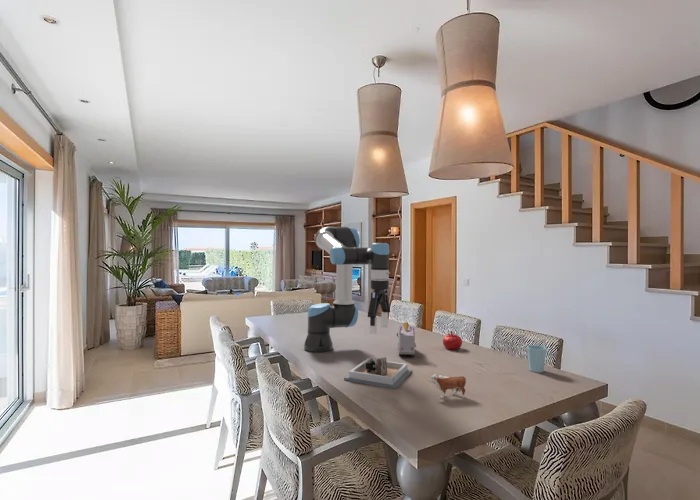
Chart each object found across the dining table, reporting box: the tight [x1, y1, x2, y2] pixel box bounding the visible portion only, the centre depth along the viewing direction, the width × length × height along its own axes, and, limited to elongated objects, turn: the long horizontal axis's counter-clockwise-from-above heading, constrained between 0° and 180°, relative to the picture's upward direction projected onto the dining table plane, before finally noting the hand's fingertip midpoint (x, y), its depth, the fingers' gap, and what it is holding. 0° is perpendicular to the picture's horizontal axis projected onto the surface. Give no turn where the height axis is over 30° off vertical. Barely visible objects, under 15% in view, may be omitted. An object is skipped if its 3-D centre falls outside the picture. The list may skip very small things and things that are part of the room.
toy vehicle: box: [396, 321, 417, 357], centre depth 194 cm, size 9×20×15 cm, turn 174°
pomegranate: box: [442, 330, 463, 350], centre depth 204 cm, size 10×10×9 cm
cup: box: [526, 344, 547, 374], centre depth 168 cm, size 8×8×10 cm
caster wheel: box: [366, 356, 388, 375], centre depth 158 cm, size 7×11×10 cm
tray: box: [343, 358, 413, 390], centre depth 158 cm, size 22×22×4 cm
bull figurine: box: [428, 373, 466, 400], centre depth 136 cm, size 4×13×8 cm, turn 94°
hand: (379, 330), depth 159 cm, fingers open, 13 cm apart
